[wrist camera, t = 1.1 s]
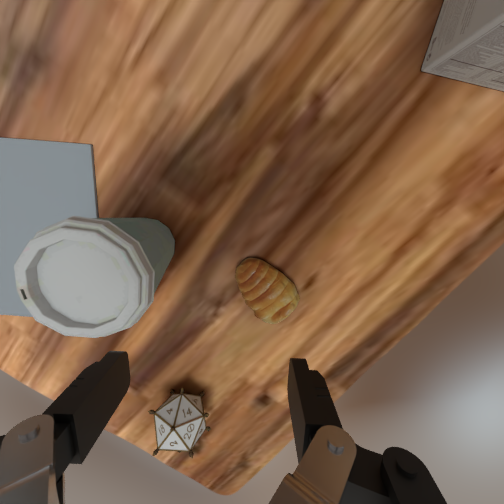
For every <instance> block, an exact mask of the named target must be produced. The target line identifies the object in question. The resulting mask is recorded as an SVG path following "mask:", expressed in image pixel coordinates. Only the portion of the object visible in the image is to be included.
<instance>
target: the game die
mask: <svg viewBox="0 0 504 504" xmlns="http://www.w3.org/2000/svg"><path fill="white" fill-rule="evenodd" d="M204 392H205V391H204ZM204 392H202V393H201V394H200V395H193V394H186V393H184V389H183V388H182V389H181V390H180V393H178V394H174V390H172V389H171V392H170V393H171V394H172V396H171V397H170V398H168V399H167V400H166V401H165V402H164V403H163V404H162V405H161V406H160V407H159V408H158V409H157V410H156V411H154V410H150V411H148V412H149V413H150V414H154V421H155V431H156V440H157V449H156V450H155V451H153V456H154V455H157V453H158V451H159V450H166V451H178V452H179V453H180V452H181V451H184V452H189V455H190V457H191V458H193V452H192V448H193V447H194V446H195V444H196V443H197V441H198V440H199V438H200V437H201V435H202V434H203V432H204V431H205V429H206V430H208V431H209V430H211V428H210V427H208V426H207V427H206V421H205V417H208V416H209V414H208V413H205V414H204V409H203V403H202V398H201V397H202V396H203V395H204Z"/></svg>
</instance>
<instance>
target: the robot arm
mask: <svg viewBox="0 0 504 504" xmlns="http://www.w3.org/2000/svg"><path fill="white" fill-rule="evenodd" d="M129 385H130V370H129V360H128V353H127V352H124V351H109V352H108V353H107V354H106V355H105V356H104V357H103V358H102V360H101V361H100V362H95V363H93V364H92V365H90V366H89V367H87V368H86V369H84V370H83V371H82V372H81V373H80V374H79V376H78V377H77V378H76V380H74V381H73V382H72V383H71V384H70V385H69V387H67V388H66V389H65V390H64V391H63V393H62V394H61V395H60V396H59V397H58V398H57V399H56V400H55V401H54V402H53V403H52V404H51V405H50V406H49V407H48V409H46V411H45V412H44V413H43V414H42V415H37V416H33V417H30V418H28V419H26V420H24V421H22V422H20V423H19V424H17V425H16V426H15V427H13V428H12V429H11V430H10V431H9V432H8V433H7V434H6V435H3V436H0V504H65V476H64V471H65V469H66V468H67V466H68V465H69V463H72V464H82V462H83V461H84V459H85V458H86V456H87V455H88V453H89V451H90V450H91V448H92V447H93V445H94V443H95V442H96V440H97V438H98V437H99V436H100V434H101V432H102V431H103V429H104V428H105V426H106V424H107V423H108V421H109V420H110V418H111V416H112V415H113V413H114V412H115V410H116V408H117V407H118V405H119V404H120V402H121V401H122V399H123V397H124V396H125V394H126V393H127V391H128V388H129ZM288 401H289V407H290V413H291V419H292V426H293V432H294V438H295V444H296V451H297V457H298V463H299V465H298V466H297V468H296V470H295V472H294V473H293V474H290V473H288V474H287V475H286V476H285V477H284V479H283V481H282V482H281V484H280V485H279V487H278V489H277V491H276V493H275V494H274V496H273V497H272V499H271V501H270V502H269V504H447V503H446V501H445V499H444V497H443V496H442V494H441V492H440V490H439V488H438V487H437V485H436V483H435V481H434V480H433V478H432V476H431V474H430V473H429V471H428V469H427V468H426V466H425V465H424V464H423V462H422V461H421V460H420V459H419V458H417V457H416V456H415V455H414V454H412V453H410V452H409V451H407V450H405V449H402V448H399V447H390V448H387V449H386V450H385V451H384V453H383V455H381V454H378V453H375V452H372V451H369V450H367V449H364V448H362V447H360V446H358V445H357V444H355V442H354V440H353V439H352V437H351V436H350V435H349V434H348V433H347V432H346V431H344V430H343V428H342V425H341V423H340V420H339V417H338V415H337V412H336V409H335V406H334V403H333V401H332V398H331V395H330V393H329V390H328V387H327V385H326V382H325V379H324V378H323V377H322V375H321V374H320V373H319V372H318V371H317V370H309V368H308V364H307V361H306V359H298V358H290V363H289V375H288Z"/></svg>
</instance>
